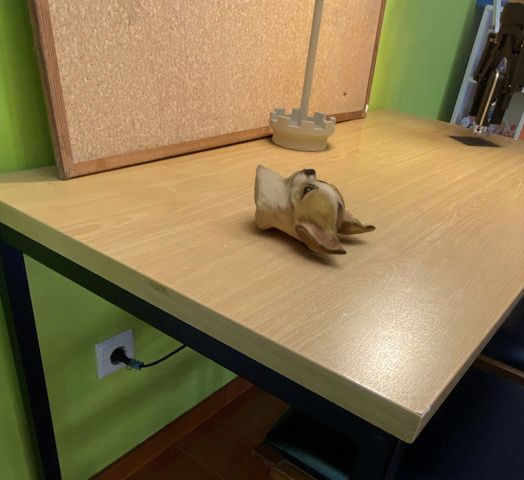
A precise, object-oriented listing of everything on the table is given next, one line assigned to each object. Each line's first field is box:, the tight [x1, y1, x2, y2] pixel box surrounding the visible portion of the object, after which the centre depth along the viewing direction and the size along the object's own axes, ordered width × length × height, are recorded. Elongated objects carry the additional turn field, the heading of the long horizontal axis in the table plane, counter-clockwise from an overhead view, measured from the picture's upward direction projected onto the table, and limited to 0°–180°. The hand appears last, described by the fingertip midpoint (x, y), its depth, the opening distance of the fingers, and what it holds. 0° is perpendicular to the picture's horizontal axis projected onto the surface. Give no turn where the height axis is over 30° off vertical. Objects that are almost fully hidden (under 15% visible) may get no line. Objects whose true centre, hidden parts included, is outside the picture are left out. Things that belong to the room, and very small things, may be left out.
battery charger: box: [473, 69, 505, 128], centre depth 116 cm, size 7×4×11 cm, turn 166°
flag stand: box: [268, 0, 337, 152], centre depth 93 cm, size 13×13×30 cm
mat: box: [449, 135, 500, 148], centre depth 123 cm, size 8×9×1 cm
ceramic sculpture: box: [253, 164, 377, 256], centre depth 60 cm, size 11×9×15 cm
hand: (484, 119), depth 119 cm, fingers closed on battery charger, 7 cm apart
